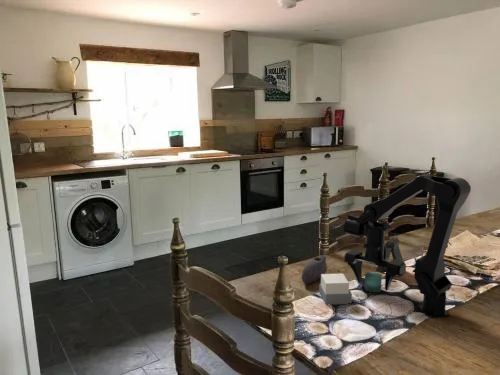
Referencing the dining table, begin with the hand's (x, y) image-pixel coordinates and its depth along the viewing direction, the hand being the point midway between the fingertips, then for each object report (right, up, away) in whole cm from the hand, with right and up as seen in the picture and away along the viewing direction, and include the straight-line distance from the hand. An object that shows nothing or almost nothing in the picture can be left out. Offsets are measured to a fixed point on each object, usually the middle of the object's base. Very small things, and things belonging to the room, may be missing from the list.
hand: (372, 286), depth 130 cm
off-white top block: (-14, +1, -6) cm, 15 cm away
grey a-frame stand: (+11, +2, +15) cm, 18 cm away
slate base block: (-14, -3, -5) cm, 15 cm away
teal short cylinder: (0, -1, 0) cm, 1 cm away
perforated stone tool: (-18, 0, +9) cm, 20 cm away
